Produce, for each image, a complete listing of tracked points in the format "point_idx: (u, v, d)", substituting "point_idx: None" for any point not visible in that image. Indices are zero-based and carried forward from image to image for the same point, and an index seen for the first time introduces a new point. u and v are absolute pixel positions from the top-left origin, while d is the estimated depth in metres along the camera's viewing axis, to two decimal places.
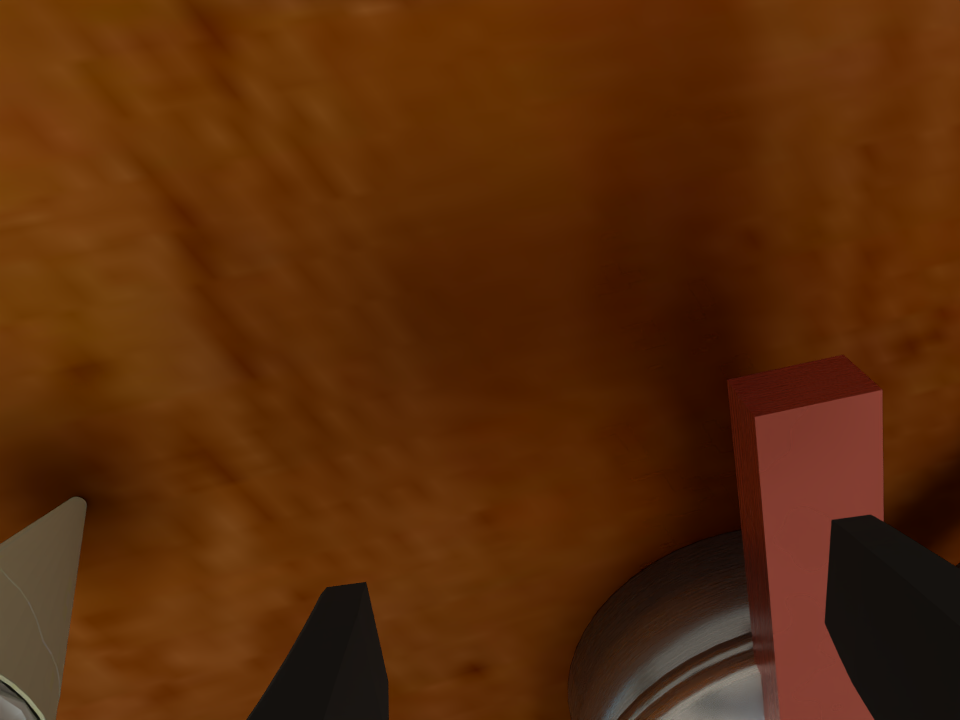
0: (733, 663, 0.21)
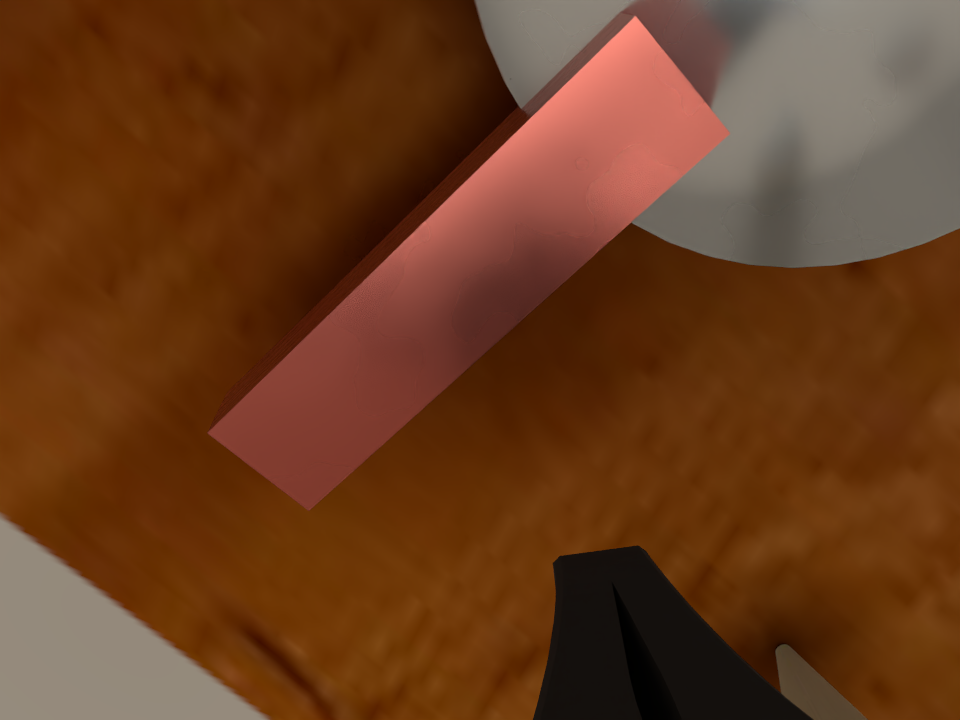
0: None
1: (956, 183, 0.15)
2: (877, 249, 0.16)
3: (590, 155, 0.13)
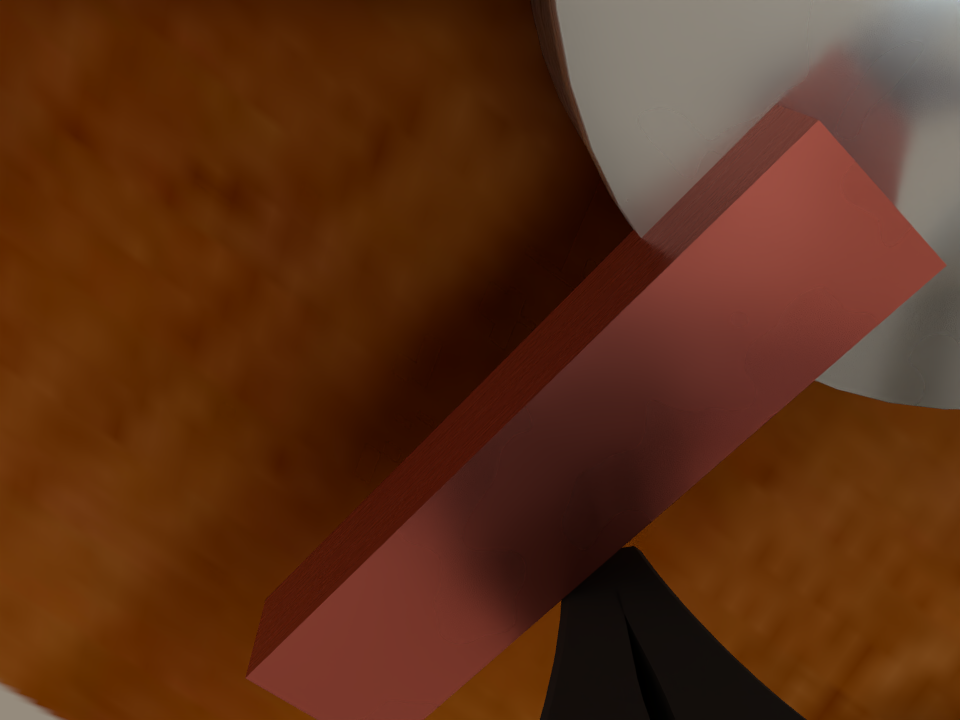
0: None
1: None
2: None
3: (751, 307, 0.10)
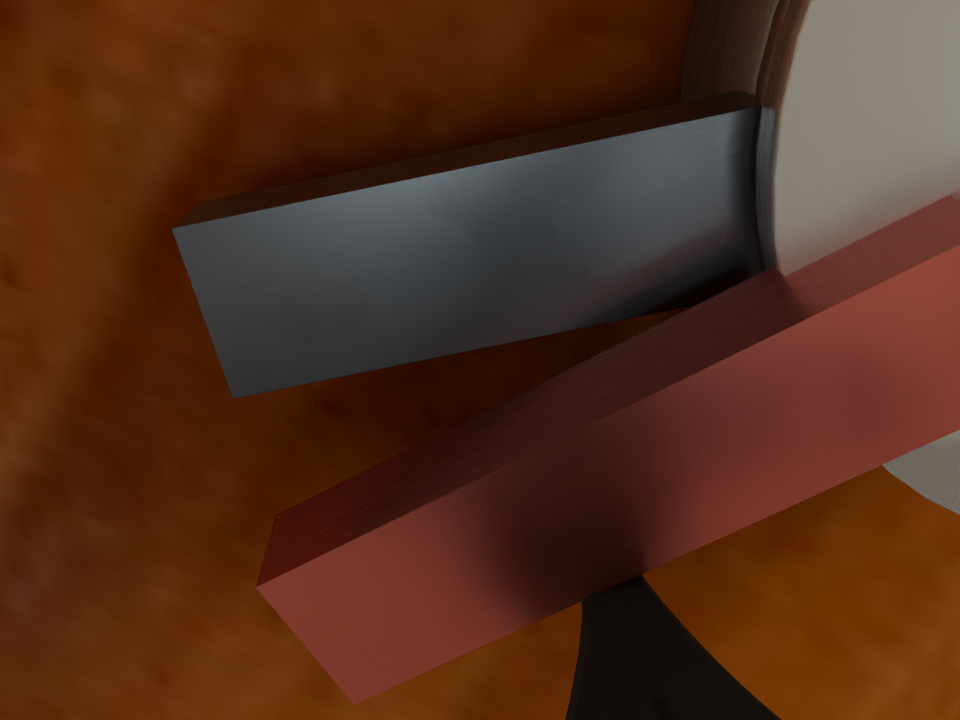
0: None
1: None
2: None
3: (880, 371, 0.10)
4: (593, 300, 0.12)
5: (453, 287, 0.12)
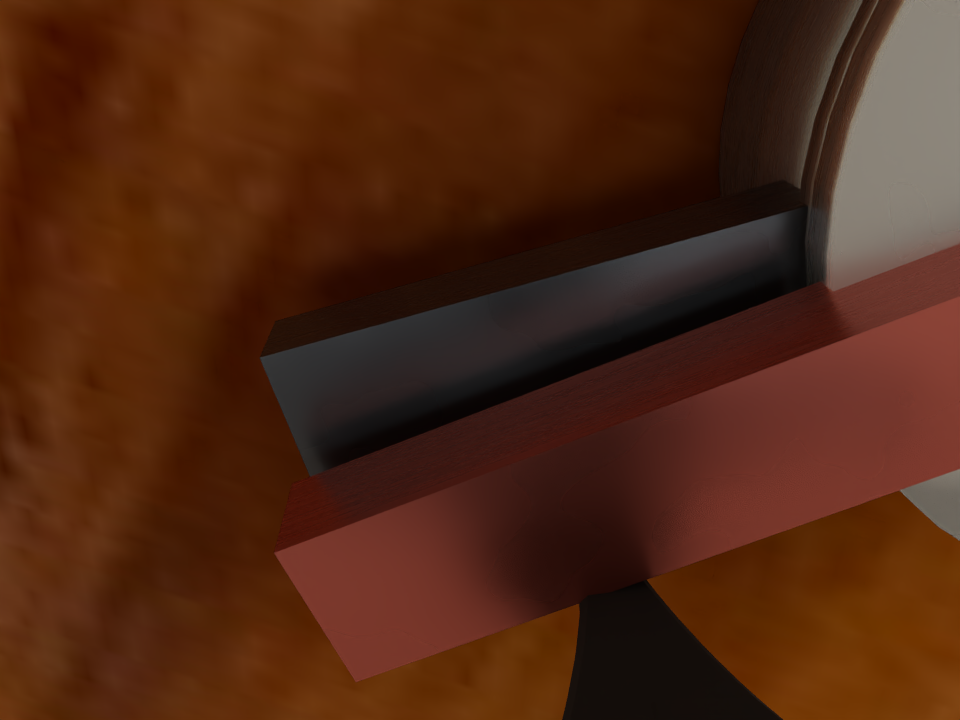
0: None
1: None
2: None
3: (922, 393, 0.10)
4: None
5: (523, 390, 0.12)
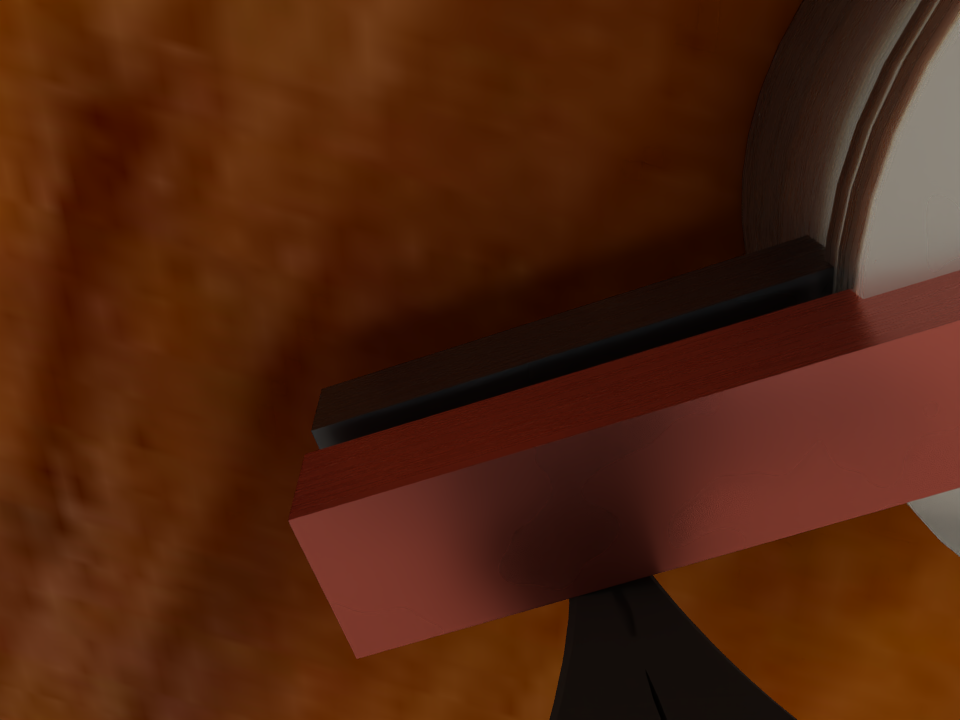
0: None
1: None
2: None
3: (946, 404, 0.10)
4: None
5: None
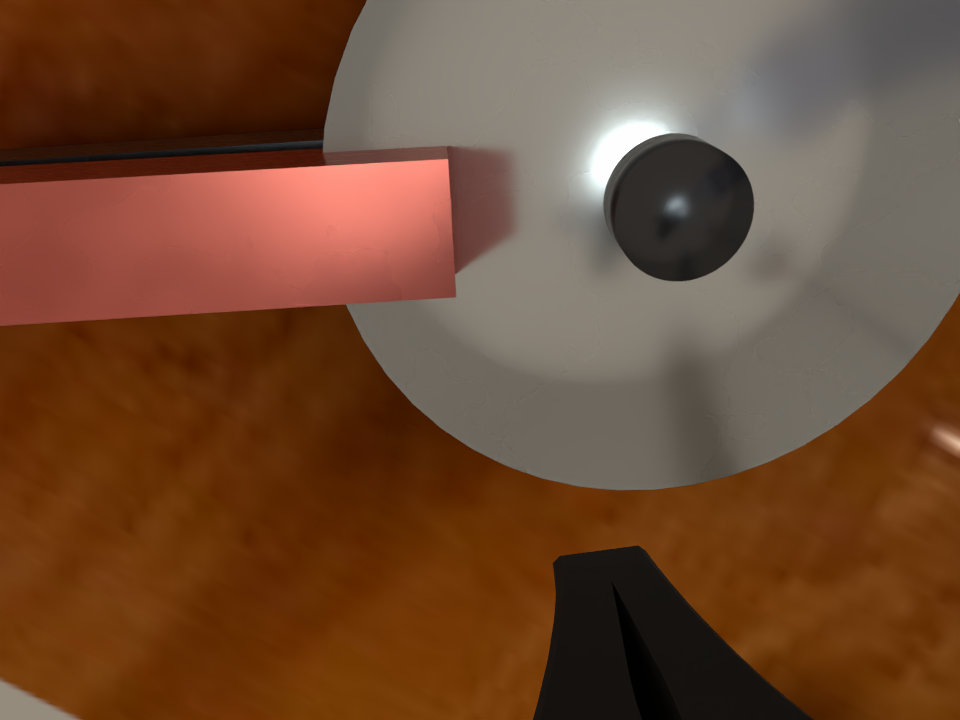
0: None
1: (590, 452, 0.17)
2: (508, 459, 0.18)
3: (342, 231, 0.14)
4: None
5: None
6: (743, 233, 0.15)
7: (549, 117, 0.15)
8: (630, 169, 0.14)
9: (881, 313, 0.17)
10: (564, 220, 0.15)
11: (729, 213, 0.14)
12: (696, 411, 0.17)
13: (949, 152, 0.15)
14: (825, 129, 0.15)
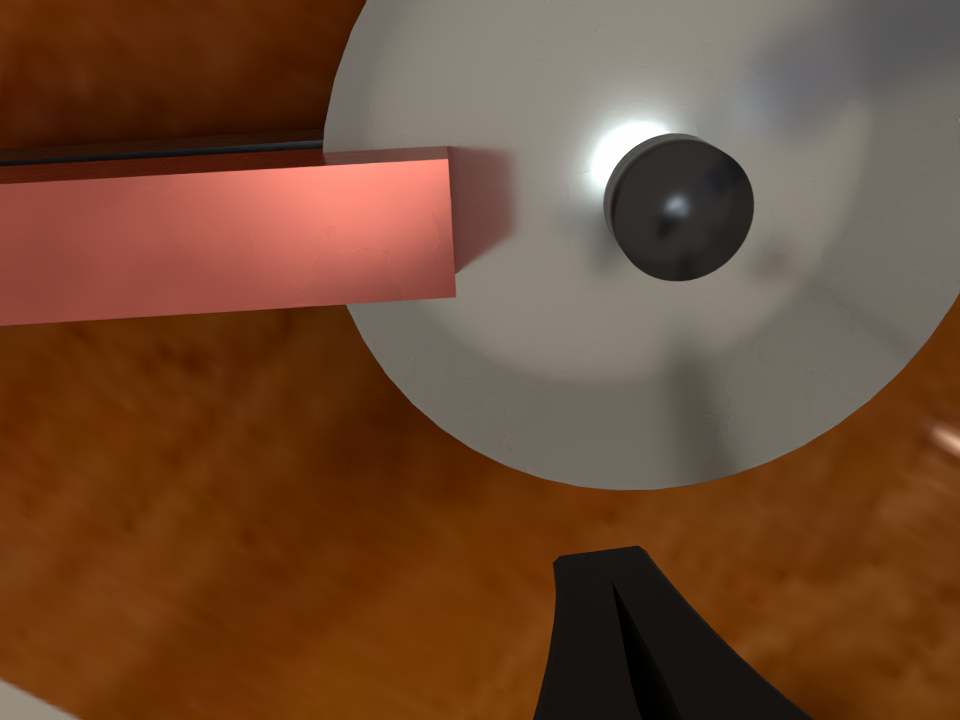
0: None
1: (590, 452, 0.17)
2: (508, 459, 0.18)
3: (342, 231, 0.14)
4: None
5: None
6: (743, 233, 0.15)
7: (549, 117, 0.15)
8: (630, 169, 0.14)
9: (881, 313, 0.17)
10: (564, 220, 0.15)
11: (729, 213, 0.14)
12: (696, 411, 0.17)
13: (949, 152, 0.15)
14: (825, 129, 0.15)
